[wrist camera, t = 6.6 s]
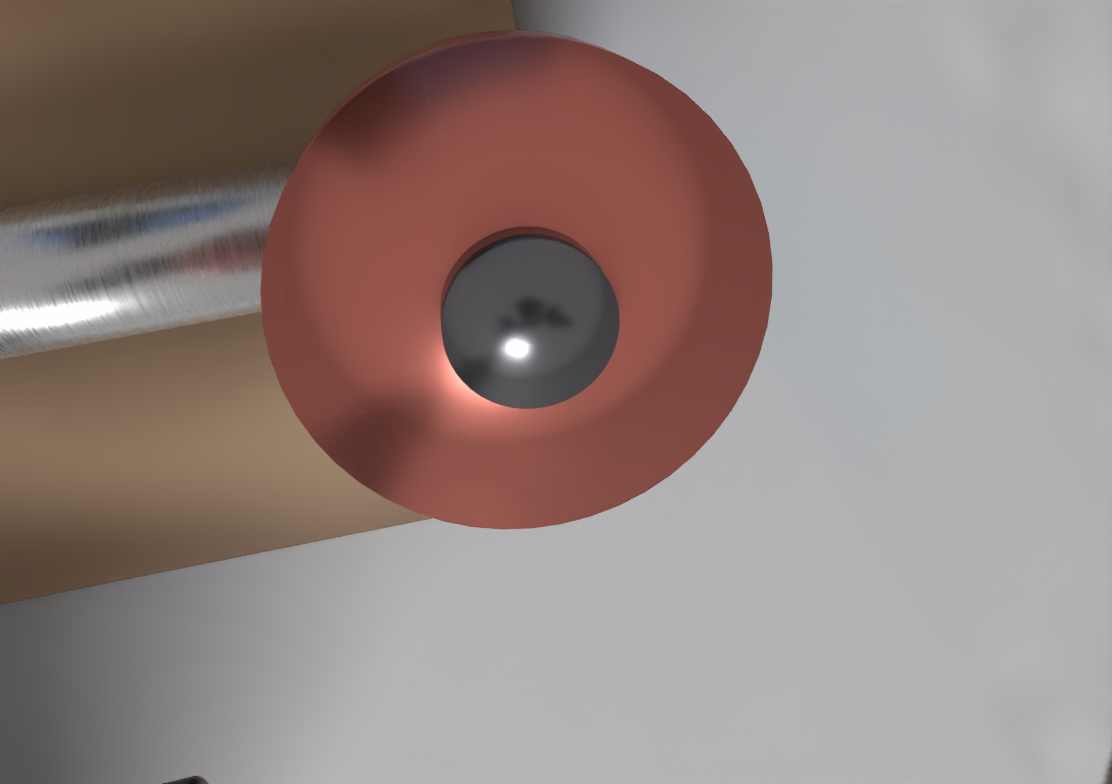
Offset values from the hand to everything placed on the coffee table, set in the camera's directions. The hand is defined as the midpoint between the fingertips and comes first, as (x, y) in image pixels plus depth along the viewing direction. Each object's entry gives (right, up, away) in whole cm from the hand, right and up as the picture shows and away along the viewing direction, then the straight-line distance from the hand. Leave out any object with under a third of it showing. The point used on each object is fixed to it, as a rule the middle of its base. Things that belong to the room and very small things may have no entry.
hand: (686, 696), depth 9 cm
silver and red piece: (-9, +6, +8) cm, 14 cm away
